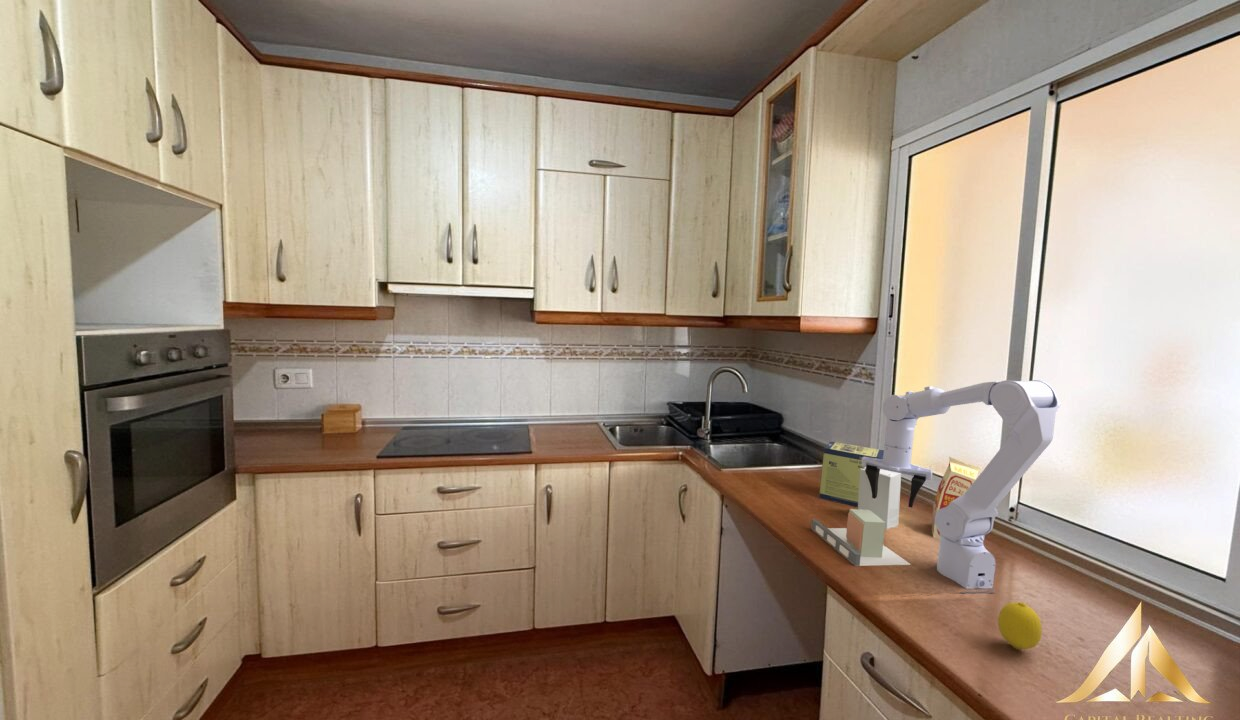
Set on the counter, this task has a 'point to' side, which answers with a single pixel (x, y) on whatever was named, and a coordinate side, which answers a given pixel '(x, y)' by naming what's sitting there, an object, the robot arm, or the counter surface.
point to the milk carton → (953, 486)
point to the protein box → (843, 471)
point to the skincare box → (881, 496)
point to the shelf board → (839, 542)
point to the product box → (865, 532)
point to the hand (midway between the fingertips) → (892, 501)
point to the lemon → (1020, 625)
